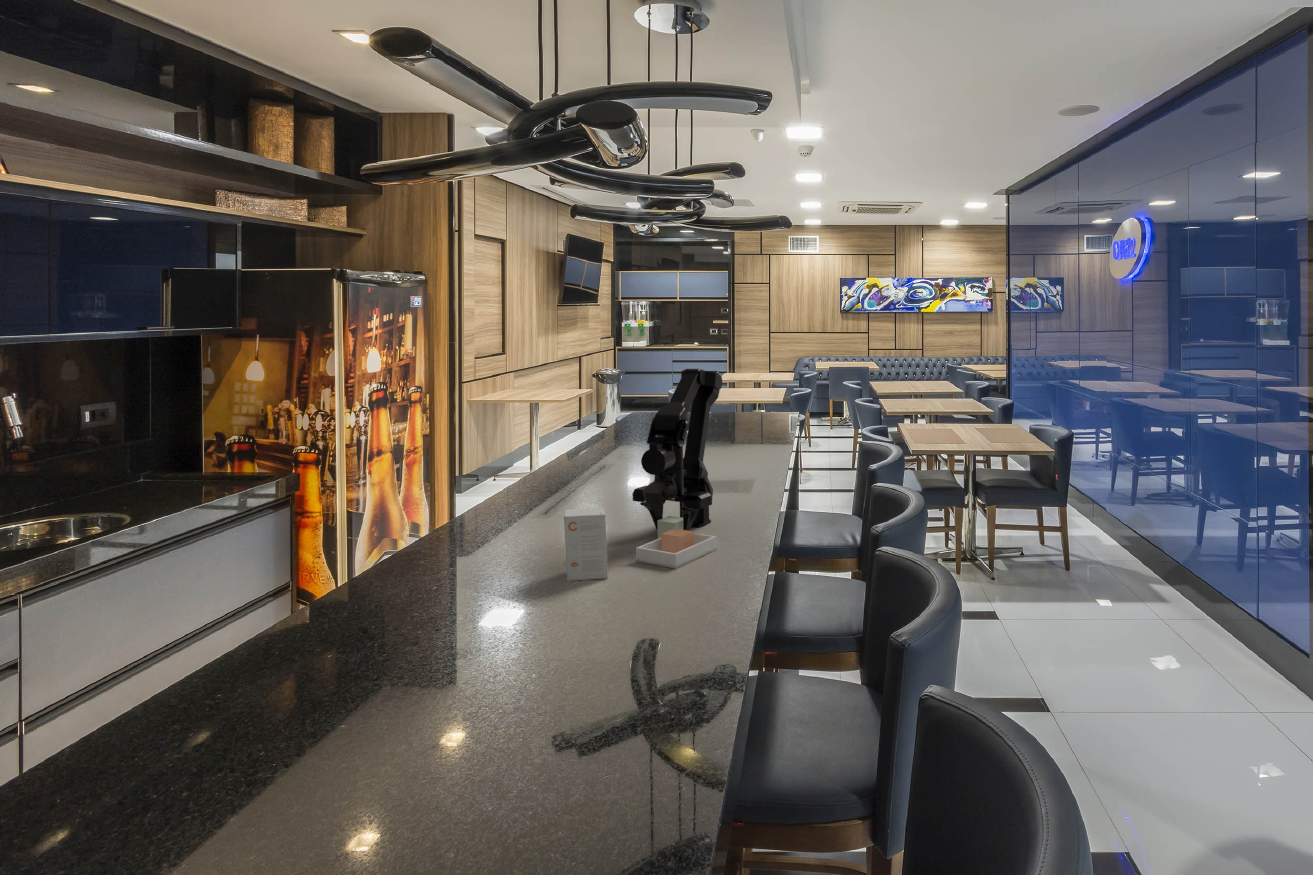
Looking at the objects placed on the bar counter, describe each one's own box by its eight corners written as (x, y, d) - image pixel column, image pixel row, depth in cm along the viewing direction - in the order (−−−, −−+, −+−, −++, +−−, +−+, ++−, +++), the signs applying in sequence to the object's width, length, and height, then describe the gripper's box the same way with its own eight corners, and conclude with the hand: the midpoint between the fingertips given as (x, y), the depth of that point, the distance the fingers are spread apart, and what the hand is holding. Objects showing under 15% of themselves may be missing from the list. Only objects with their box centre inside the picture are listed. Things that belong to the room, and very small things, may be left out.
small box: (606, 569, 166) (604, 506, 164) (608, 579, 160) (605, 514, 158) (566, 571, 166) (564, 508, 164) (566, 581, 159) (563, 516, 157)
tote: (636, 561, 171) (636, 547, 171) (678, 543, 184) (678, 530, 184) (676, 568, 165) (675, 554, 165) (716, 549, 178) (716, 536, 178)
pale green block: (657, 539, 189) (657, 520, 188) (669, 534, 193) (669, 516, 192) (676, 542, 186) (675, 523, 185) (687, 537, 190) (687, 518, 189)
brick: (661, 554, 174) (661, 533, 174) (674, 548, 178) (674, 528, 178) (681, 557, 171) (680, 536, 171) (694, 551, 175) (693, 531, 175)
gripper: (617, 469, 186) (619, 536, 188) (686, 476, 175) (687, 547, 177) (645, 461, 195) (647, 525, 197) (712, 468, 184) (713, 535, 186)
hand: (672, 533), depth 189 cm, fingers open, 7 cm apart
